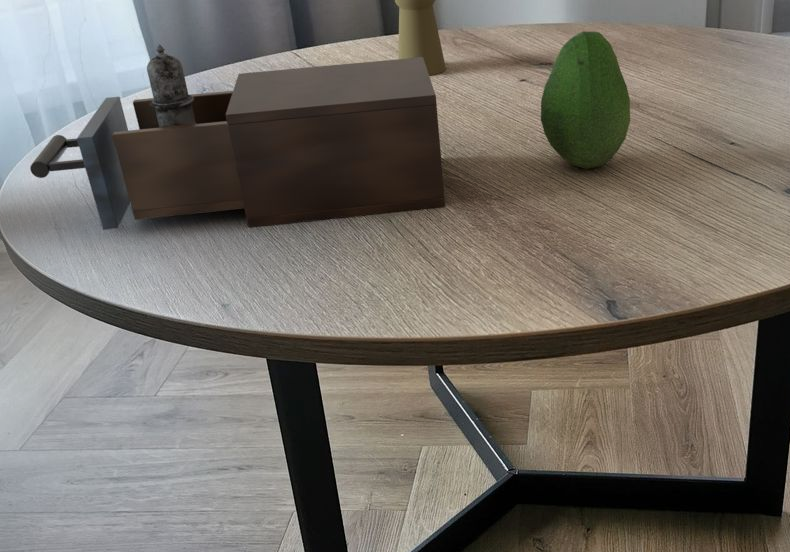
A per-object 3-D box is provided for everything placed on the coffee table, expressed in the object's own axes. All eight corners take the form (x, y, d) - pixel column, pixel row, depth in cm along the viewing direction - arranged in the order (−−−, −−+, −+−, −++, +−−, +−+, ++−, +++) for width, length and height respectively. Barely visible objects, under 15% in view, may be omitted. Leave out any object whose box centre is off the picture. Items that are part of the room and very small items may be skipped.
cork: (436, 77, 117) (428, -18, 112) (390, 75, 119) (380, -18, 113) (452, 64, 122) (445, -28, 116) (408, 63, 124) (399, -27, 118)
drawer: (41, 236, 78) (11, 144, 74) (73, 186, 88) (48, 102, 84) (292, 210, 80) (277, 119, 76) (296, 164, 90) (283, 81, 86)
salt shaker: (223, 168, 87) (194, 32, 81) (227, 190, 82) (198, 47, 76) (156, 178, 86) (122, 41, 79) (156, 201, 81) (120, 57, 75)
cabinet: (248, 227, 80) (225, 114, 75) (257, 175, 91) (238, 73, 86) (445, 206, 82) (435, 94, 77) (432, 157, 92) (422, 56, 88)
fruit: (546, 183, 85) (542, 46, 79) (538, 154, 92) (533, 25, 86) (636, 177, 85) (639, 39, 79) (621, 147, 92) (623, 18, 86)
